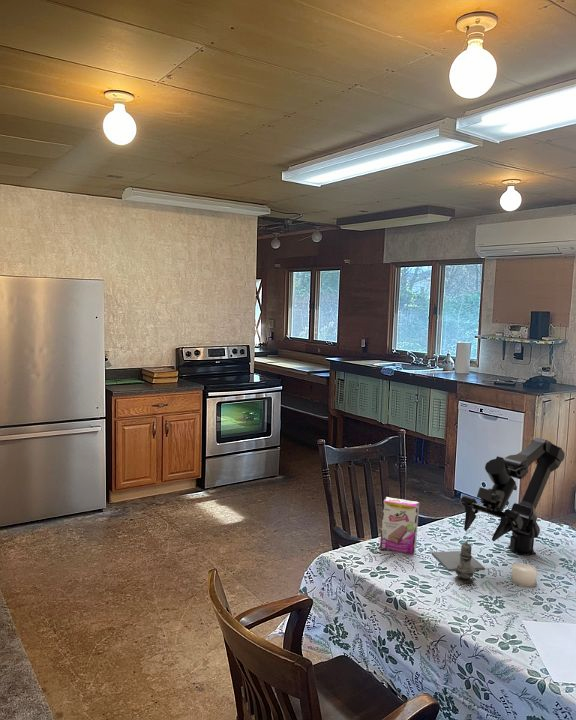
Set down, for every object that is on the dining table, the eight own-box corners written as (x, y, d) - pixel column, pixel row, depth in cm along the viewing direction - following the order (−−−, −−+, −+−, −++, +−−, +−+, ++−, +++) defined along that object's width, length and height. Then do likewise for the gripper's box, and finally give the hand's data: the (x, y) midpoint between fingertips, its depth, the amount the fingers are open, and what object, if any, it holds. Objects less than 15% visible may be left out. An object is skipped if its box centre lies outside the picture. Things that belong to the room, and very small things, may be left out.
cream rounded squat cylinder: (527, 575, 177) (528, 562, 177) (541, 586, 170) (542, 573, 170) (506, 576, 176) (507, 563, 176) (519, 587, 169) (520, 574, 169)
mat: (466, 552, 191) (466, 551, 191) (484, 569, 180) (484, 567, 179) (431, 553, 189) (431, 552, 189) (448, 570, 177) (448, 569, 177)
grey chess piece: (463, 586, 168) (466, 546, 167) (449, 577, 173) (452, 538, 172) (478, 582, 171) (481, 543, 169) (463, 574, 176) (467, 535, 175)
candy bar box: (379, 549, 191) (382, 500, 189) (382, 543, 195) (385, 496, 194) (414, 555, 187) (417, 506, 185) (416, 549, 192) (419, 501, 190)
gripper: (465, 470, 184) (442, 511, 177) (522, 486, 170) (499, 531, 164) (476, 490, 190) (454, 530, 183) (532, 507, 176) (511, 551, 170)
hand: (478, 535), depth 175 cm, fingers open, 9 cm apart
